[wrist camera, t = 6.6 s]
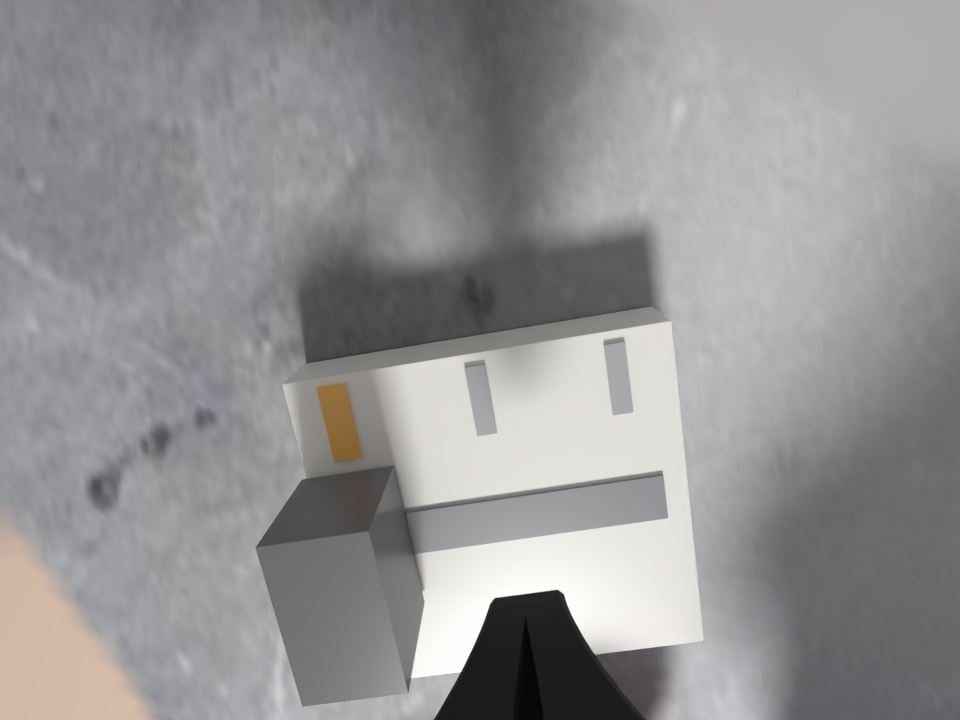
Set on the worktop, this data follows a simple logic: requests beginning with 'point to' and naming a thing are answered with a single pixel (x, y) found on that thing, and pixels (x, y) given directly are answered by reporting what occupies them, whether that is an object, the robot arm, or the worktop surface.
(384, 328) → the worktop surface
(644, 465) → the console
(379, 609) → the fader knob
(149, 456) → the worktop surface
